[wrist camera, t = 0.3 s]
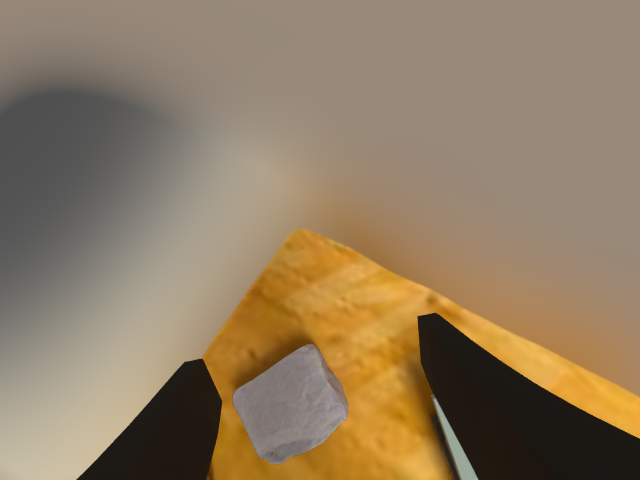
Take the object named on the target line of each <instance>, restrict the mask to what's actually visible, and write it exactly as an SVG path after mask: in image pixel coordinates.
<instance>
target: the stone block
mask: <svg viewBox="0 0 640 480" xmlns="http://www.w3.org/2000/svg"><path fill="white" fill-rule="evenodd" d="M233 405H234V407H235V409H236V410H237V412H238V415H239V416H240V417H241V420H242V422H243V424H244V427H245V429H246V431H247V433H248V436H249V438H250V440H251V442H252V444H253V446H254V449H255V451H256V453H257V454H258V455H259V457H260V458H261V459H267V460H268V461H269V463H270V464H281V463H283V462H285V461H286V460H287V459H288V458H290V457H292V456H296V455H299V454H302V453H304V452H307V451H309V450H311V449H313V448H314V447H316V446H318V445H320V444H321V443H323V442H324V441H326V439H327V438H328V437H329V436H330V435H331V433H332V432H334V431H335V430H336V428H337V426H338V425H339V424H341V423H342V422H343V421H344V420H345V418H346V417H347V414H348V402H347V398H346V396H345V394H344V391H343V387H342V385H341V382H340V381H339V380H338V379H337V378H336V377H335V375H334V373H333V372H332V371H330V370H329V368H328V366H327V365H326V362H325V360H324V358H323V356H322V354H321V353H320V351H319V349H318V348H317V347H316V346H315V345H314V344H306V345H304V346H302V347H301V348H299V349H297V350H296V351H294V352H292V353H291V354H289V355H288V356H286V357H285V358H283V359H282V360H280V361H279V362H277V363H276V364H274V365H273V366H272V367H270V368H269V369H268V370H266V371H265V372H263V373H262V374H260V375H259V376H257V377H255V378H254V379H253V380H251V381H249V382H247V383H246V384H244V385H242V386H241V387H239V388H238V389H237V390H236V391H235V392H234V394H233Z"/></svg>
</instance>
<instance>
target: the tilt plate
mask: <svg viewBox="0 0 640 480" xmlns="http://www.w3.org/2000/svg"><path fill="white" fill-rule="evenodd" d="M430 396H431V399H432V401H433V404H434V407H435V410H436V413H437V416H438V419H439V421H440V424H441V427H442V430H443V433H444V436H445V438H446V441H447V444H448V447H449V450H450V453H451V455H452V458H453V461H454V464H455V467H456V470H457V473H458V475H459V478H460V480H478V478H477V476H476V474H475V472H474V470H473V468H472V466H471V464H470V462H469V460H468V459H467V457H466V455H465V453H464V451H463V449H462V447H461V445H460V443H459V442H458V440H457V438H456V436H455V434H454V432H453V430H452V428H451V426H450V425H449V423H448V421H447V419H446V417H445V415H444V413H443V411H442V409H441V407H440V406H439V404H438V402H437V400H436V398H435V396H434V394H433V395H430Z"/></svg>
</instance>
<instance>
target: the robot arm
mask: <svg viewBox="0 0 640 480" xmlns="http://www.w3.org/2000/svg"><path fill="white" fill-rule="evenodd" d="M417 317H418V330H419V342H420V355H421V364H422V367H423V369H424V372H425V374H426V377H427V379H428V382H429V384H430V387H431V389H432V392H433V394H434V396H435V398H436V400H437V402H438V404H439V406H440V407H441V409H442V411H443V413H444V415H445V417H446V419H447V421H448V423H449V425H450V426H451V428H452V430H453V432H454V434H455V436H456V438H457V440H458V442H459V443H460V445H461V447H462V449H463V451H464V453H465V455H466V457H467V459H468V460H469V462H470V464H471V466H472V468H473V470H474V472H475V474H476V476H477V478H478V480H640V439H639V438H637V437H635V436H633V435H631V434H629V433H627V432H625V431H623V430H621V429H619V428H617V427H615V426H613V425H611V424H609V423H607V422H605V421H603V420H601V419H599V418H597V417H595V416H593V415H591V414H589V413H587V412H585V411H583V410H581V409H579V408H578V407H576V406H574V405H572V404H570V403H568V402H567V401H565V400H563V399H561V398H560V397H558V396H556V395H554V394H553V393H551V392H549V391H547V390H546V389H544V388H542V387H540V386H539V385H537V384H536V383H534V382H532V381H531V380H529V379H528V378H526V377H524V376H523V375H521V374H520V373H518V372H517V371H515V370H514V369H512V368H511V367H509V366H508V365H506V364H505V363H503V362H502V361H500V360H499V359H497V358H496V357H495V356H493V355H492V354H490V353H489V352H487V351H486V350H485V349H483V348H482V347H480V346H479V345H478V344H476V343H475V342H474V341H472V340H471V339H470V338H468V337H467V336H466V335H464V334H463V333H462V332H460V331H459V330H458V329H457V328H455V327H454V326H453V325H451V324H450V323H449V322H448V321H446V320H445V319H444V318H443V317H441V316H440V315H439V314H437V313H432V314H427V315H422V316H417ZM221 407H222V400H221V398H220V396H219V393H218V391H217V389H216V387H215V385H214V382H213V380H212V378H211V376H210V374H209V372H208V369H207V367H206V365H205V363H204V361H203V359H198V360H193V361H188V362H184V363H183V364H182V366H181V367H180V368H179V369H178V370H177V371H176V372H175V373H174V374H173V376H172V377H171V378H170V379H169V380H168V381H167V382H166V383H165V385H164V386H163V387H162V388H161V389H160V390H159V392H158V393H157V394H156V395H155V396H154V398H152V400H151V401H150V402H149V403H148V404H147V405H146V407H145V408H144V409H143V410H142V411H141V412H140V413H139V415H138V416H137V417H136V418H135V419H134V420H133V421H132V422H131V423H130V425H129V426H128V427H127V428H126V429H125V430H124V431H123V432H122V433H121V434H120V435H119V436H118V437H117V439H115V441H114V442H113V443H112V444H111V445H110V446H109V447H108V448H107V449H106V450H105V451H104V452H103V453H102V454H101V456H100V457H99V458H98V459H97V460H96V461H95V462H94V463H93V464H92V465H91V466H90V467H89V468H88V469H87V470H86V471H85V472H84V473H83V474H82V475H81V476H80V477H79V478H78V479H77V480H206V479H207V475H208V471H209V467H210V463H211V459H212V455H213V452H214V448H215V444H216V439H217V435H218V429H219V423H220V415H221Z"/></svg>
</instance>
